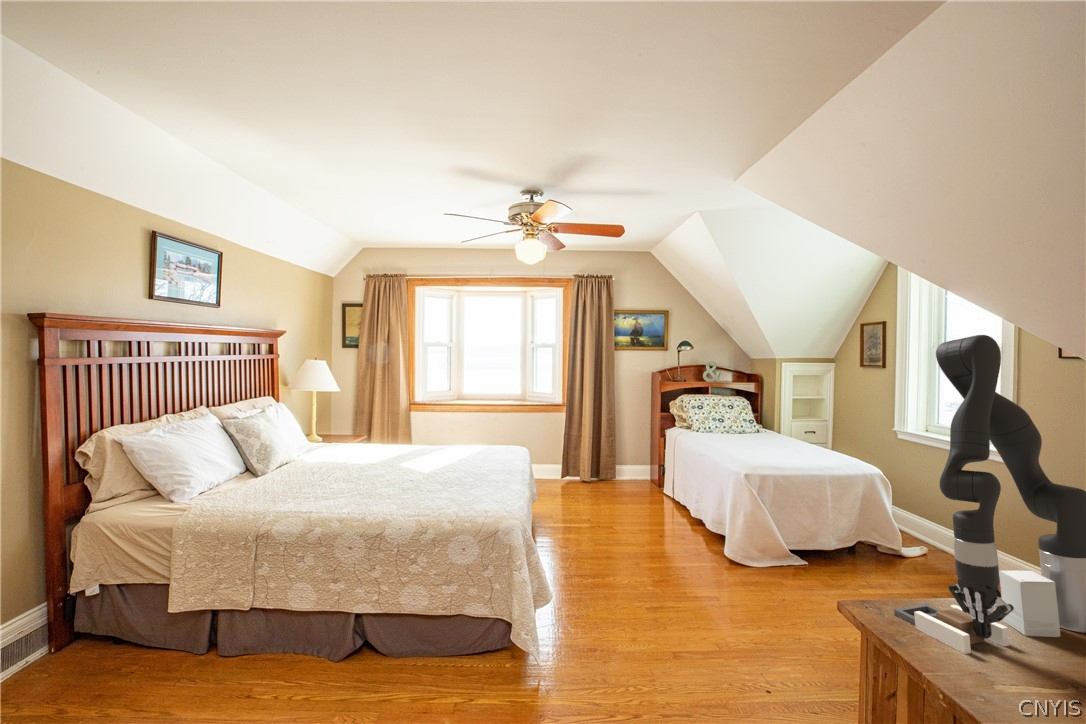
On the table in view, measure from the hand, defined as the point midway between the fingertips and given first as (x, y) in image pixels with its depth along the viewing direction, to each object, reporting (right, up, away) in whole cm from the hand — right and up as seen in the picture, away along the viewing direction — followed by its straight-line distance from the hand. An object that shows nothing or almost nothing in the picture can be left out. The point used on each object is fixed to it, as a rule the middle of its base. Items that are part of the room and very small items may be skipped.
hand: (982, 636), depth 113 cm
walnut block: (-1, -3, +5) cm, 6 cm away
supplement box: (+17, -2, +7) cm, 19 cm away
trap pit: (-3, -3, +15) cm, 16 cm away
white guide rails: (-1, -3, +5) cm, 6 cm away
